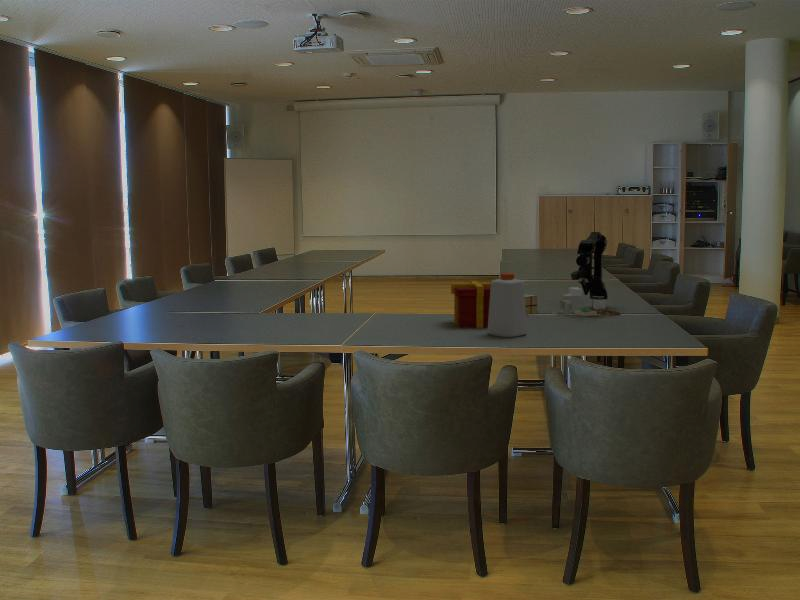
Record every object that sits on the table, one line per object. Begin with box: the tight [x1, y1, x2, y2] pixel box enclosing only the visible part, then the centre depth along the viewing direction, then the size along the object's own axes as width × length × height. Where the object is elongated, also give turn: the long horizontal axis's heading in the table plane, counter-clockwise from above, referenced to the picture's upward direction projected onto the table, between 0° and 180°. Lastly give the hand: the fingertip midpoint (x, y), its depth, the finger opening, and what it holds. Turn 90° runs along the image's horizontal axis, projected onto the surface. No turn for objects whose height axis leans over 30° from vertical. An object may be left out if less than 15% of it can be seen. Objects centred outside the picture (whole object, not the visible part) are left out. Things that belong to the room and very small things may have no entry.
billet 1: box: [559, 300, 573, 315], centre depth 419 cm, size 4×4×7 cm
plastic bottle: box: [486, 272, 528, 339], centre depth 362 cm, size 15×15×28 cm
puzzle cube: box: [525, 293, 538, 315], centre depth 426 cm, size 10×10×10 cm
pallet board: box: [590, 308, 622, 317], centre depth 416 cm, size 18×10×3 cm, turn 22°
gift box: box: [450, 280, 491, 329], centre depth 392 cm, size 25×25×20 cm
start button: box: [581, 306, 591, 312], centre depth 413 cm, size 4×4×3 cm
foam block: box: [561, 286, 583, 303], centre depth 475 cm, size 10×10×8 cm
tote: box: [550, 311, 575, 317], centre depth 419 cm, size 11×11×1 cm
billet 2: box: [592, 299, 607, 311], centre depth 420 cm, size 4×4×7 cm
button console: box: [574, 309, 598, 317], centre depth 413 cm, size 8×8×3 cm
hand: (585, 295), depth 412 cm, fingers closed
